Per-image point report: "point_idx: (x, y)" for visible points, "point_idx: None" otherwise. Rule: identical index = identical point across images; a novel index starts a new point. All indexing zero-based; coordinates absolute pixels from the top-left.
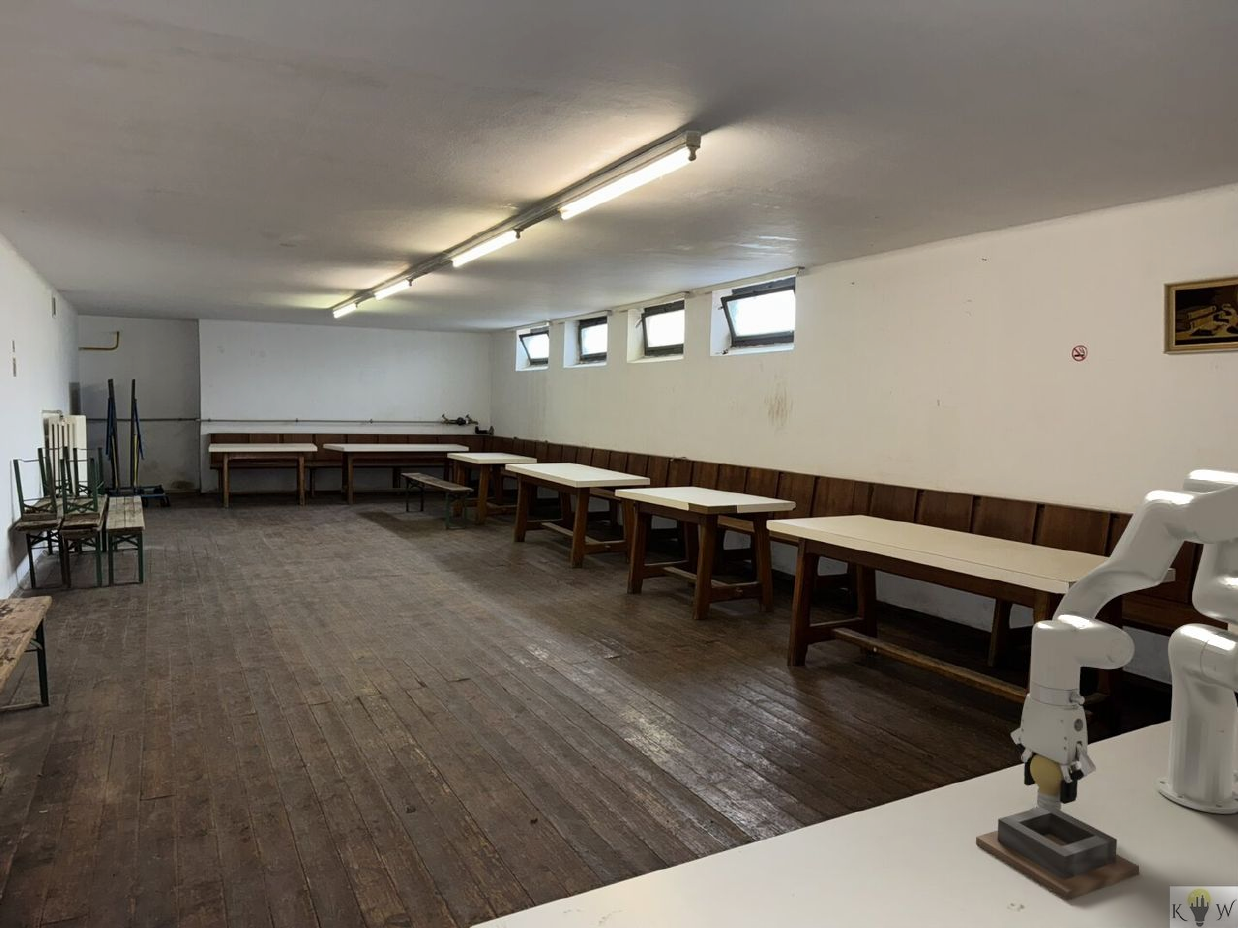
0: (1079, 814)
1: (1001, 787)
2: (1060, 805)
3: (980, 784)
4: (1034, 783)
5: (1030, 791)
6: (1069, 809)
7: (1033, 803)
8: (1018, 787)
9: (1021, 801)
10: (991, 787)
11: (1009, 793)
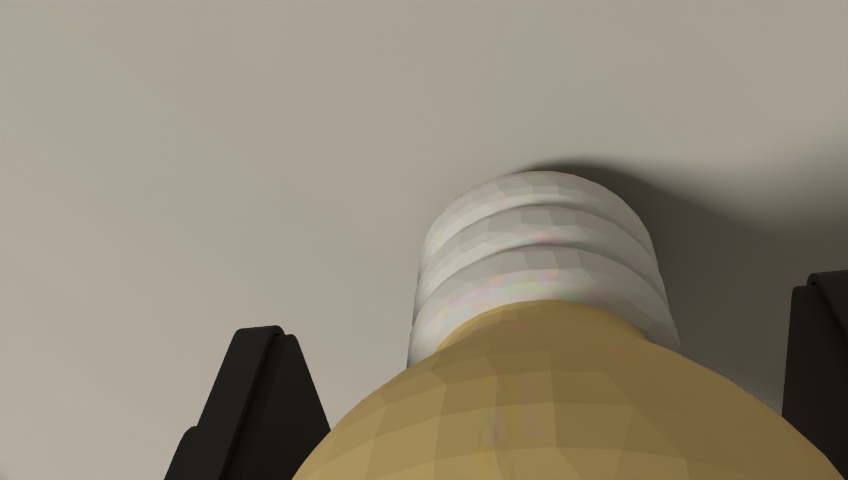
0: (757, 28)
1: (68, 337)
2: (639, 239)
3: (20, 438)
4: (314, 395)
5: (152, 150)
6: (618, 50)
7: (398, 295)
8: (61, 202)
9: (343, 357)
10: (71, 402)
11: (187, 350)
